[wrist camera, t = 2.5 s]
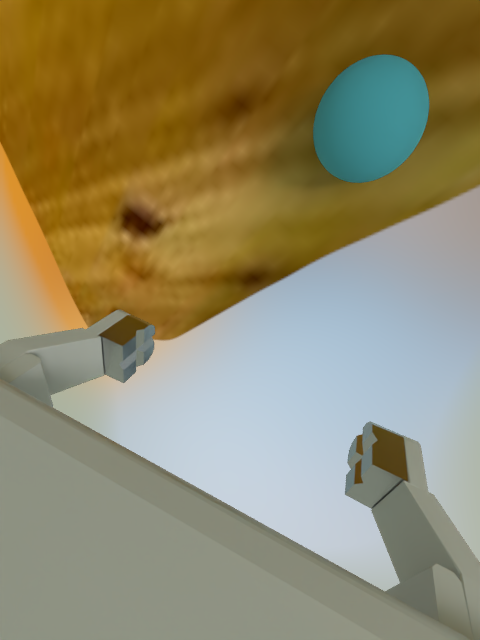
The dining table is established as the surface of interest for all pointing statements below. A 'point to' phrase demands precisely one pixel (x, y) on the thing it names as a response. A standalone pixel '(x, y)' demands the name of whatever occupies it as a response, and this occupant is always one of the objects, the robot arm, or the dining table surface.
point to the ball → (371, 118)
